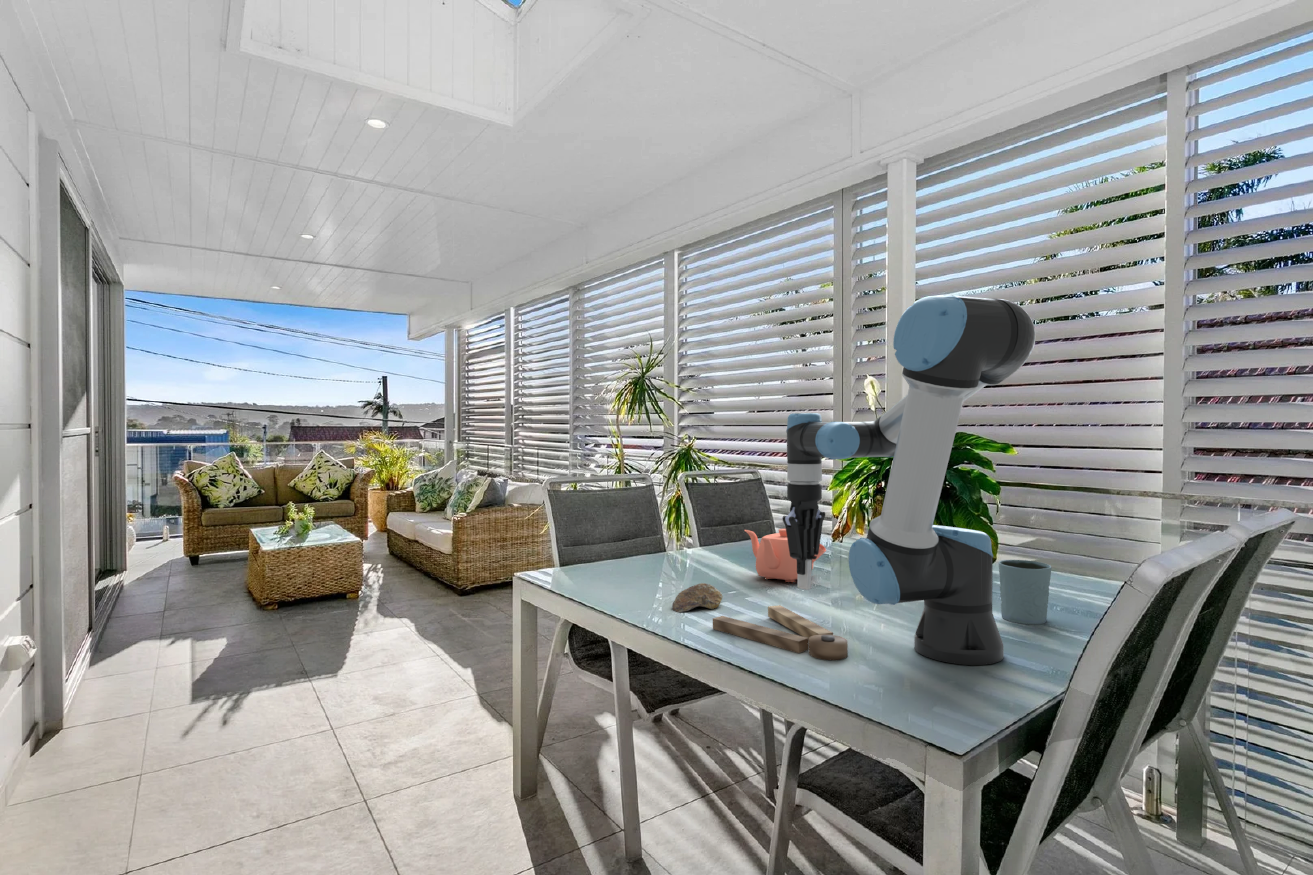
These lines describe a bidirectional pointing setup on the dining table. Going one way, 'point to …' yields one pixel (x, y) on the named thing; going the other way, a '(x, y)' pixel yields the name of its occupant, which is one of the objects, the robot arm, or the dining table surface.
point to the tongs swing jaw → (796, 622)
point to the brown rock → (697, 598)
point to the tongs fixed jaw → (786, 639)
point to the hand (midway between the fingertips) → (804, 588)
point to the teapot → (776, 556)
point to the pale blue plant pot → (1024, 591)
